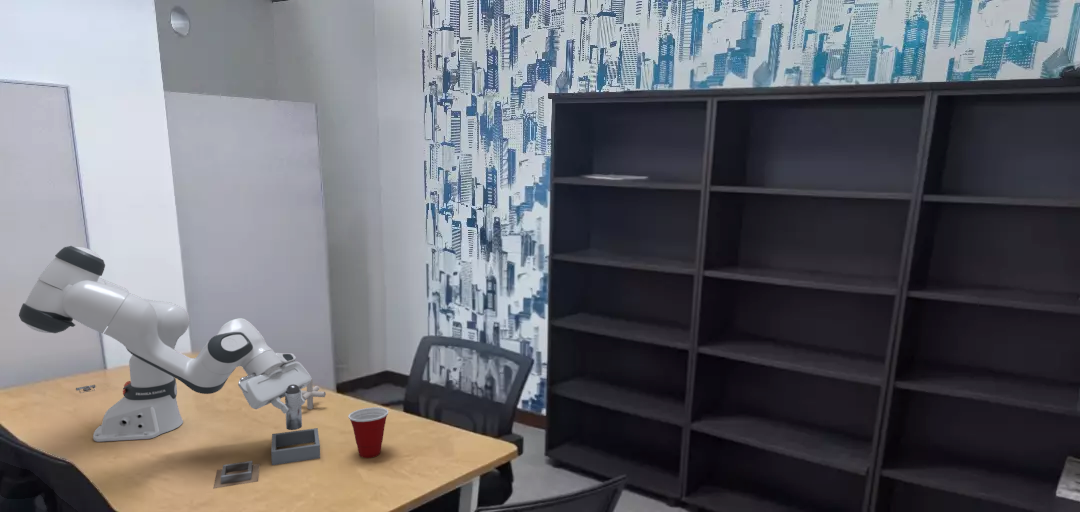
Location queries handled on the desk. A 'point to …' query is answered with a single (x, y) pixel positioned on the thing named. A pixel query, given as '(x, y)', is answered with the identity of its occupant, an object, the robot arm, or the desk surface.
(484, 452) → the desk surface
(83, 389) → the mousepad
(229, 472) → the socket plate
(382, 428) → the plastic cup
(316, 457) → the bin
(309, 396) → the pipe connector
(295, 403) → the strut
